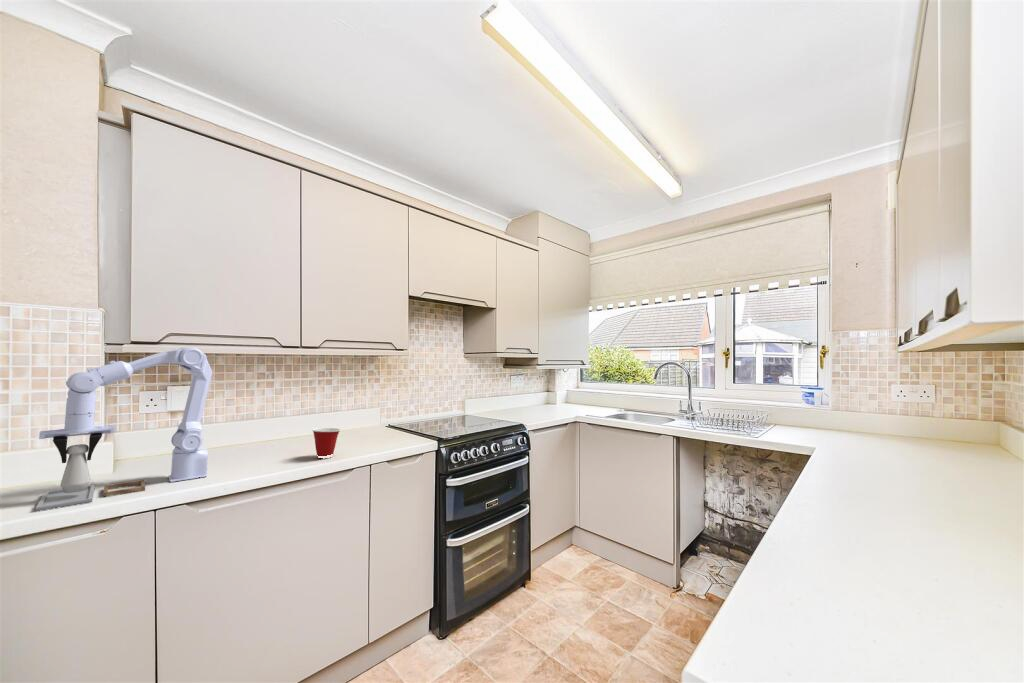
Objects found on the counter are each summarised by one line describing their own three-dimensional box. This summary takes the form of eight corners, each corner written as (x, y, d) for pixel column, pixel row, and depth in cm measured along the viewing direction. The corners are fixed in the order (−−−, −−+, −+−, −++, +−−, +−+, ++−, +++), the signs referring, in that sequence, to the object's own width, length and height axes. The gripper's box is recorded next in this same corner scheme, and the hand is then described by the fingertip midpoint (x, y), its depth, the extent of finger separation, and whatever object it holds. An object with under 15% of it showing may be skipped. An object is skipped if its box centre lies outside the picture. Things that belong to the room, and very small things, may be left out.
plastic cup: (345, 455, 166) (346, 427, 167) (327, 461, 156) (328, 431, 156) (323, 453, 169) (324, 425, 169) (304, 459, 158) (306, 429, 159)
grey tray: (94, 487, 120) (95, 484, 120) (91, 502, 109) (92, 498, 109) (44, 495, 113) (44, 491, 113) (35, 511, 102) (35, 507, 102)
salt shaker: (71, 494, 108) (73, 447, 109) (53, 494, 109) (56, 446, 110) (96, 487, 114) (98, 442, 115) (79, 487, 115) (81, 442, 116)
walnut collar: (143, 483, 125) (144, 479, 125) (144, 490, 119) (145, 486, 119) (104, 489, 119) (104, 485, 119) (103, 497, 113) (103, 493, 113)
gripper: (116, 410, 121) (113, 454, 120) (43, 413, 110) (39, 462, 110) (116, 412, 116) (112, 459, 115) (39, 417, 105) (35, 467, 105)
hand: (76, 461), depth 112 cm, fingers closed on salt shaker, 4 cm apart
